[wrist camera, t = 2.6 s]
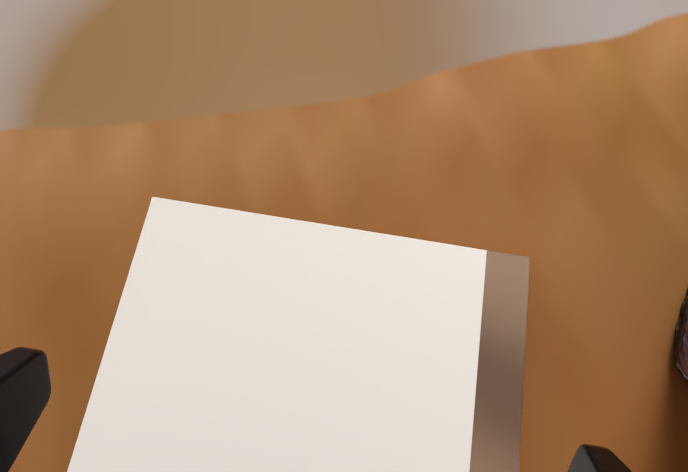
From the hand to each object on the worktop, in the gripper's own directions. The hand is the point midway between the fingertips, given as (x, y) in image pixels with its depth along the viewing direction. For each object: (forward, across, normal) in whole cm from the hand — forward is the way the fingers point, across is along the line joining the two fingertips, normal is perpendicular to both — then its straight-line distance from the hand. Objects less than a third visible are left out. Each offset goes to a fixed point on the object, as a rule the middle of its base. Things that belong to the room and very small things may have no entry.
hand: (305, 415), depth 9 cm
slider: (+5, 0, +4) cm, 6 cm away
